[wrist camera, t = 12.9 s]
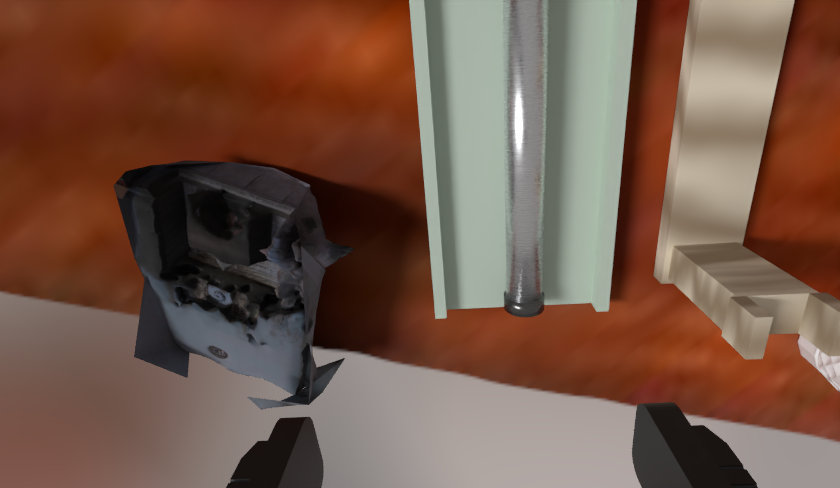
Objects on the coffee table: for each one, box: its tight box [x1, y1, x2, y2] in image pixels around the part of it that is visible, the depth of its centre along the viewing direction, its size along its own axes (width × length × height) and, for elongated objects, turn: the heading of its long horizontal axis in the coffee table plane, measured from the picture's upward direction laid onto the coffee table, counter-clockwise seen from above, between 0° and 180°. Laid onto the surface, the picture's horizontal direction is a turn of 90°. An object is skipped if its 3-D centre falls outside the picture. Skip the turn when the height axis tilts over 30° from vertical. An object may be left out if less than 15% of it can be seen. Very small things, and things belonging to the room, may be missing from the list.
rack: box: [654, 0, 840, 359], centre depth 28 cm, size 26×6×12 cm, turn 5°
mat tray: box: [409, 0, 637, 319], centre depth 34 cm, size 30×15×2 cm, turn 5°
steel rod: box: [503, 0, 549, 317], centre depth 32 cm, size 28×3×3 cm, turn 5°
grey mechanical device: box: [114, 161, 354, 409], centre depth 37 cm, size 18×20×9 cm
